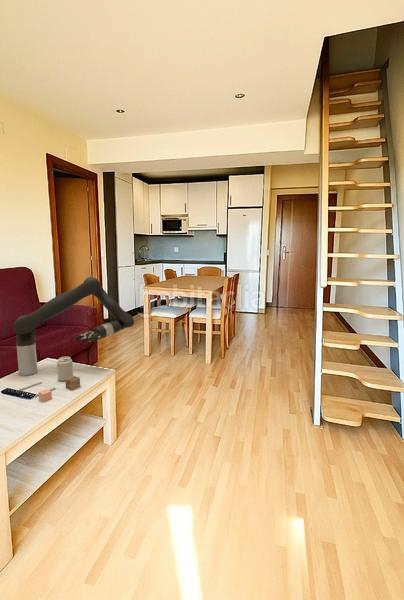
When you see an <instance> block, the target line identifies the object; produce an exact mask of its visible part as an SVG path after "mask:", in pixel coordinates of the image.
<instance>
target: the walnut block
mask: <svg viewBox="0 0 404 600" xmlns="http://www.w3.org/2000/svg"><path fill="white" fill-rule="evenodd" d="M64 382H65V383H64V384H65V389H66V390H67V389H68V390H70V391H74V390H77V389H78V388H81V378H80V377H79V376H75V375H73V376H72V377H69V378H67V379H65V381H64Z"/></svg>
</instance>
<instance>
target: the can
mask: <svg viewBox="0 0 404 600" xmlns="http://www.w3.org/2000/svg"><path fill="white" fill-rule="evenodd" d="M56 367H57V379H58V380H59V381H60V382H65V379H67V378H69V377H72V376H74V369H73V359H72V358H71V356H60V357H59V358H58V360H57V361H56Z"/></svg>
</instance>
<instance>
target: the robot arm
mask: <svg viewBox="0 0 404 600" xmlns="http://www.w3.org/2000/svg"><path fill="white" fill-rule="evenodd" d="M91 295H93V296H94V297H95V298H96V299H97V300H98V301H99V302H100V303H101V304H102V305H103V306H104V308H105V309H106V310H107V311H108V313H110V314H111V316H113V318H115V319H116V320H114V321H113V320H112V321H110V322H105V323H103V324H101V325H97V326H96V327H95V326H94V328H93V330H92V331H90V330H87V331H84V332H80V333H79V335H77V336H74V337H73V340H74V341H75V342H77V341H80V343H81V344H82V345H83V344H86V343H89V342H90V343H91V342H96V341H98V340H101V339H104V338H107V337H109V336H111V335H113V334H115V333H118V332H119V331H121V330H124V329H128V328H132V327H133V326H134V325H135V318H133V316H132V315H131V314H130V313H128V312H127V311H126V310H124V309H123V308H122V307H121V306H120V304H118V303H117V302H116V301H115V299H113V298H112V297H111V296H110V295H109V294H108V293H107V292H106V290H105V289H104V288H103V286H102V285H101V283H100V280H98V278H96V277H94V276H89V277H87V278H85V279H84V280H83V281H82V283H81V284H79V285H78V286H76V287H75V288H73V289H71V290H68V291H66V292H62V293H60V294H59V295H56V296H55V297H53V298H51V299H49V300H47V302H45V303H44V304H43V305H41V306H40V307H39V308H38V309H36V310H35V311H33V312H31V313H29V314H27V315H26V314H25V315H20V316H19V317H18V318H16V320H15V322H14V323H13V329H14V332H15V333H16V341H15V343H16V353H17V367H18V375H19V376H22V377H23V376H24V377H27V376H33V375H35V374H37V373H38V359H37V348H36V347H37V346H36V328H37V327H38V326H40V325H41V324H42V323H45V322H46V321H48V320H50V319H52V318H54V317H56V316H58V315H59V314H61V313H63V312H65V311H66V310H69V308H71V307H72V306H75V304H77V303H79V302H80V301H81V300H83V299H84V298H87V297H90V296H91Z"/></svg>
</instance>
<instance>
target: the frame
mask: <svg viewBox="0 0 404 600" xmlns="http://www.w3.org/2000/svg"><path fill="white" fill-rule="evenodd" d="M40 384H43V382H42V381H39V382H36V383H33V384H31V385H28V386H25V387H22V388H20V389H19V388H18V390H19V391H23V392H26V391H25V390H28V389H30V388H33V387H36V386H37V385H40ZM56 389H57V388H56V387H53V388H50V389H49V390H50V391H51V392H52V391H55V390H56ZM19 391H18V392H19ZM34 395H35V396H34ZM34 395H33V396H34V397H35V398H37V397H39V394H37V393H36V394H34ZM34 397H32V398H31V399H34Z"/></svg>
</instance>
